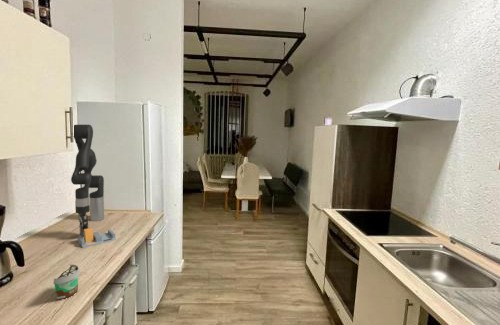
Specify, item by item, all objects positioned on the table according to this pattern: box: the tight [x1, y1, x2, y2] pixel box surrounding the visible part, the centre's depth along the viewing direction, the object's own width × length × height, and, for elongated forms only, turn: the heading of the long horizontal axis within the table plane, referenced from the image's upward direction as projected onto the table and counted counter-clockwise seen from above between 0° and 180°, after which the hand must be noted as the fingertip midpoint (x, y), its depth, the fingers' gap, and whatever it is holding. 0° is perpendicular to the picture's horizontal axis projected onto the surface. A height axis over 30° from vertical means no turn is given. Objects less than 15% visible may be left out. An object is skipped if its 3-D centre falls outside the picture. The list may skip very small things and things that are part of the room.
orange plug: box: [83, 227, 94, 243], centre depth 162 cm, size 4×4×7 cm
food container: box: [53, 264, 81, 301], centre depth 113 cm, size 12×6×10 cm, turn 5°
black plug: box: [79, 224, 89, 238], centre depth 171 cm, size 4×4×7 cm
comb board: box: [77, 228, 117, 249], centre depth 165 cm, size 13×18×4 cm
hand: (83, 229), depth 170 cm, fingers open, 8 cm apart
